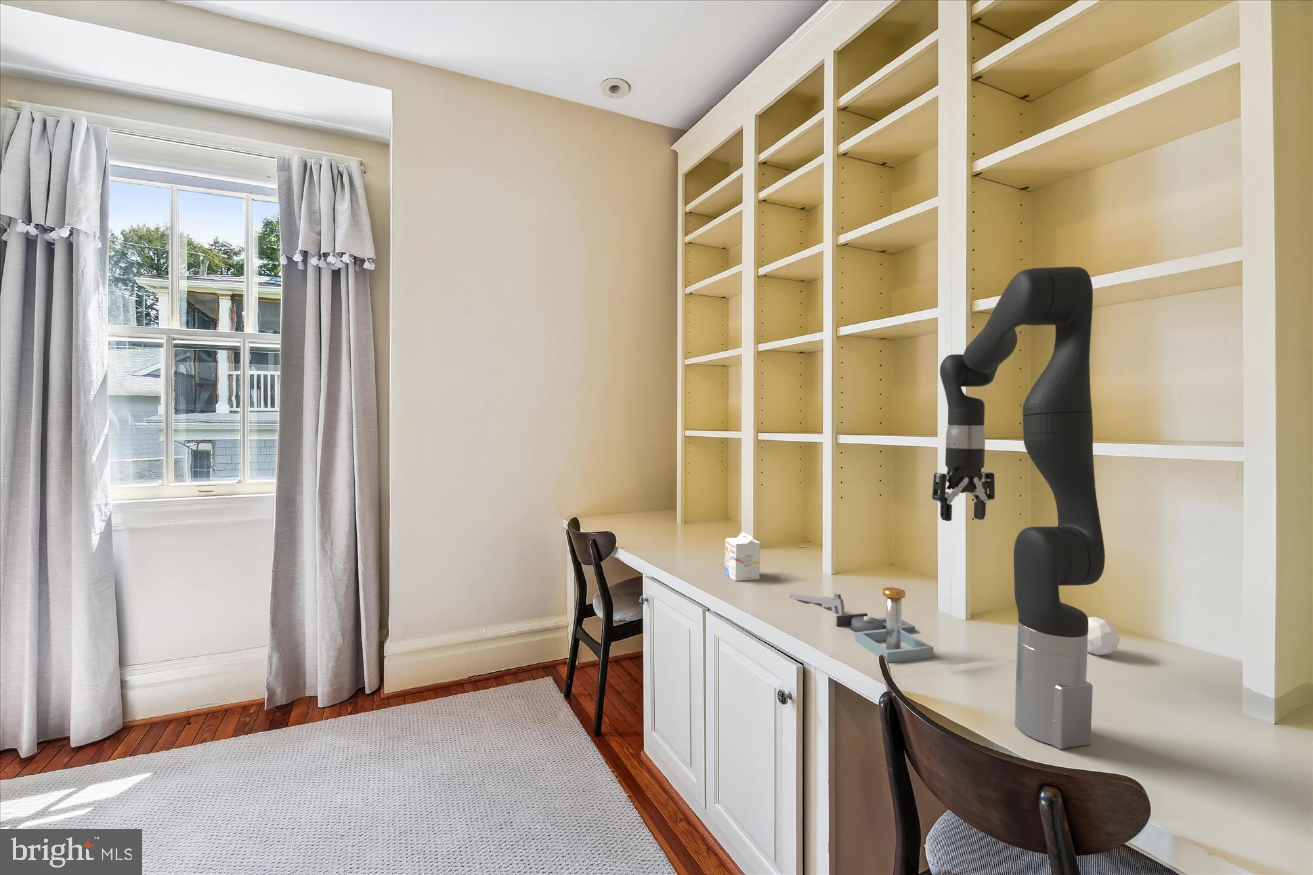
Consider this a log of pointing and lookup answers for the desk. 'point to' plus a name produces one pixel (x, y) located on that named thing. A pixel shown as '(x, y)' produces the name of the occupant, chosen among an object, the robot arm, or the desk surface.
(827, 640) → the desk surface
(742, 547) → the ink box
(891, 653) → the tray
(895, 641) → the pin
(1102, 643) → the geometric ball
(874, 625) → the plate
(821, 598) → the caliper
